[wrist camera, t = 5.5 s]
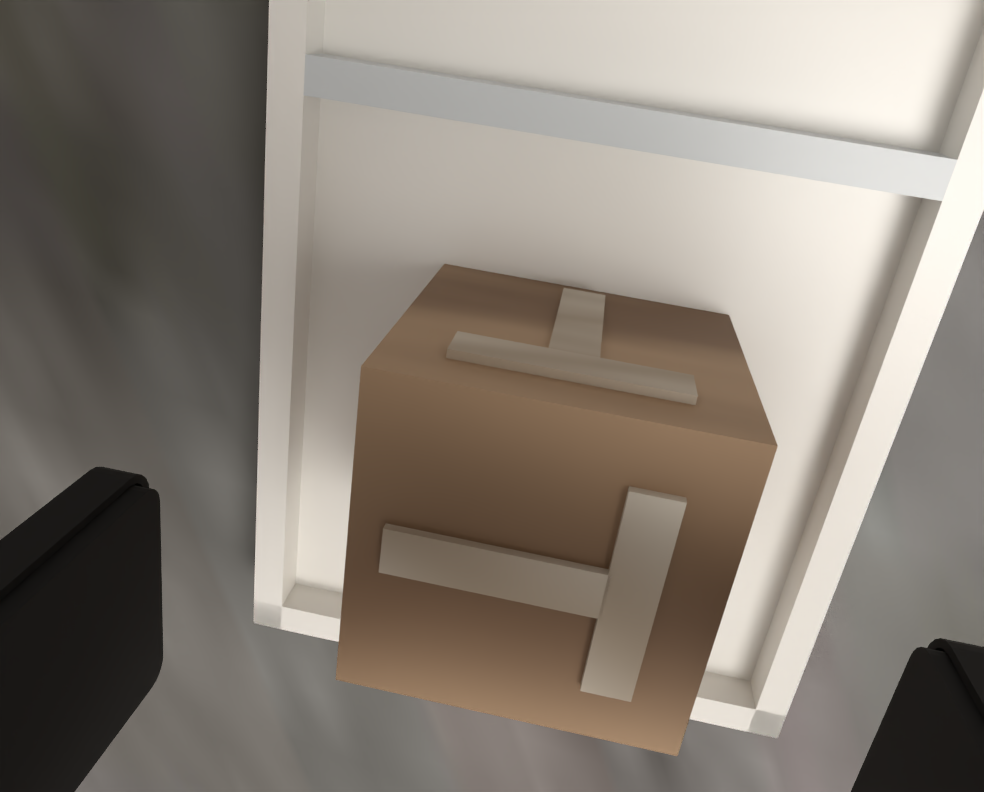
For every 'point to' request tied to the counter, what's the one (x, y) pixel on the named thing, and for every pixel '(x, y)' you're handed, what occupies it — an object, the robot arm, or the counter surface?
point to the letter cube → (549, 504)
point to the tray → (622, 242)
